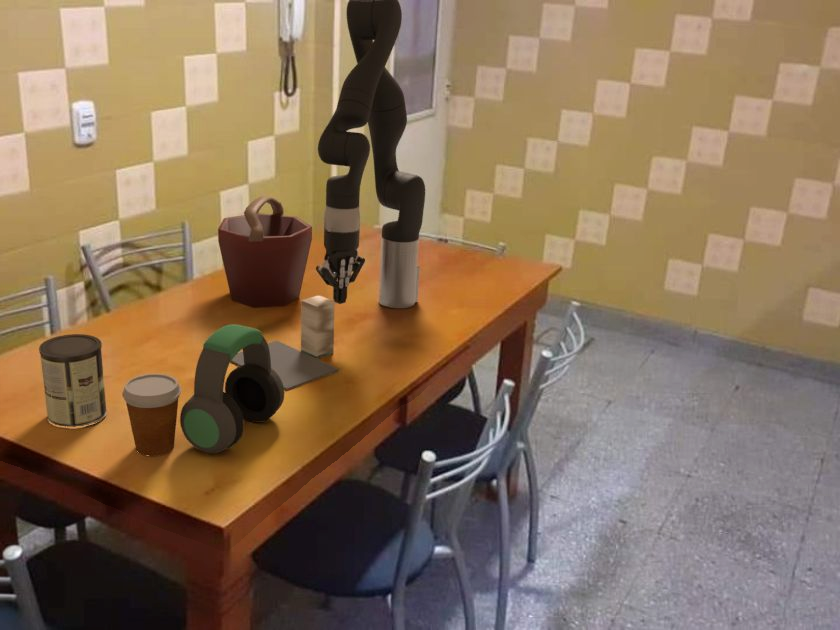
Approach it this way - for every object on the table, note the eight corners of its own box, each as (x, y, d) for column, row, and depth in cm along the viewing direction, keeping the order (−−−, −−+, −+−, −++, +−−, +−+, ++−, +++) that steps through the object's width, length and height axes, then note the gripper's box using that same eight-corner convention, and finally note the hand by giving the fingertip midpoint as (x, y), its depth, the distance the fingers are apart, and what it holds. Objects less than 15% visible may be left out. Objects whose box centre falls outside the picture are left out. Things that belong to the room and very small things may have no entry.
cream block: (318, 345, 198) (318, 295, 194) (333, 352, 195) (334, 301, 191) (300, 351, 194) (301, 300, 190) (316, 359, 191) (317, 306, 187)
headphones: (229, 465, 149) (226, 356, 142) (175, 449, 153) (170, 342, 146) (289, 418, 166) (289, 318, 159) (239, 405, 170) (237, 307, 162)
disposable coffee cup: (153, 467, 147) (149, 402, 143) (114, 449, 152) (109, 386, 148) (195, 444, 155) (193, 382, 151) (156, 428, 159) (153, 367, 155)
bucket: (275, 319, 211) (275, 217, 202) (196, 303, 218) (193, 203, 209) (324, 289, 232) (325, 195, 223) (250, 275, 239) (249, 183, 230)
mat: (276, 342, 199) (276, 340, 198) (338, 370, 186) (338, 368, 186) (225, 358, 189) (225, 357, 189) (286, 390, 177) (286, 388, 176)
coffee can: (72, 398, 168) (66, 329, 163) (118, 409, 165) (113, 339, 160) (33, 422, 159) (25, 350, 154) (81, 434, 156) (75, 361, 151)
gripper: (352, 217, 196) (349, 291, 202) (306, 227, 187) (305, 304, 193) (376, 224, 192) (373, 300, 198) (331, 235, 182) (329, 314, 189)
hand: (339, 302), depth 195 cm, fingers closed
